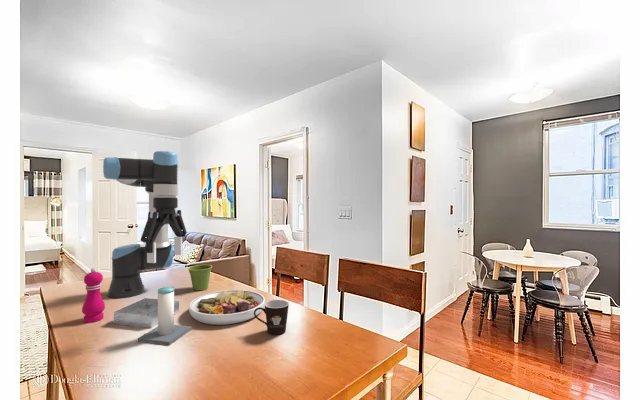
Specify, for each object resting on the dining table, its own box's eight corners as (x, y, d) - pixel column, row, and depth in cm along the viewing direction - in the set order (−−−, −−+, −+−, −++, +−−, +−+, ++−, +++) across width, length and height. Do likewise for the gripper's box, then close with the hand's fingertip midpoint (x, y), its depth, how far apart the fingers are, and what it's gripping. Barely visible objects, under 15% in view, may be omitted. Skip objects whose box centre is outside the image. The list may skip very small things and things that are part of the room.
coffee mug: (292, 328, 115) (292, 301, 115) (282, 338, 107) (282, 309, 107) (264, 323, 119) (264, 297, 119) (252, 333, 111) (252, 305, 110)
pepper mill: (93, 324, 117) (92, 270, 117) (77, 322, 119) (76, 269, 118) (109, 316, 124) (109, 266, 124) (94, 315, 126) (94, 265, 125)
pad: (162, 326, 116) (162, 323, 116) (191, 329, 113) (191, 326, 113) (137, 341, 104) (137, 338, 104) (169, 344, 102) (169, 341, 102)
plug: (164, 328, 112) (164, 286, 111) (177, 329, 111) (177, 287, 111) (154, 334, 107) (154, 290, 107) (167, 335, 106) (167, 291, 106)
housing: (145, 308, 133) (145, 298, 133) (179, 311, 130) (179, 300, 130) (113, 324, 117) (113, 312, 117) (151, 327, 114) (151, 315, 114)
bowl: (176, 313, 129) (176, 294, 129) (239, 296, 151) (239, 279, 151) (212, 336, 109) (212, 313, 109) (279, 312, 131) (279, 294, 131)
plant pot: (195, 285, 168) (195, 264, 168) (216, 286, 166) (216, 265, 166) (183, 291, 156) (182, 269, 156) (205, 293, 154) (205, 270, 154)
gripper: (178, 196, 121) (178, 251, 121) (127, 197, 96) (127, 266, 97) (196, 196, 119) (196, 252, 120) (148, 197, 95) (148, 267, 95)
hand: (165, 258), depth 108 cm, fingers open, 13 cm apart
